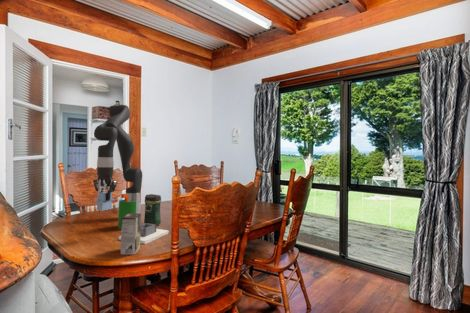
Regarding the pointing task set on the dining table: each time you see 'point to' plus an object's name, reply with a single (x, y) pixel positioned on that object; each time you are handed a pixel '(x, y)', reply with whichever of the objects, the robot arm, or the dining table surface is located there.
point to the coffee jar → (152, 209)
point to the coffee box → (130, 233)
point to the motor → (125, 208)
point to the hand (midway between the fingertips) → (104, 199)
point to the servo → (103, 202)
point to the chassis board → (150, 233)
